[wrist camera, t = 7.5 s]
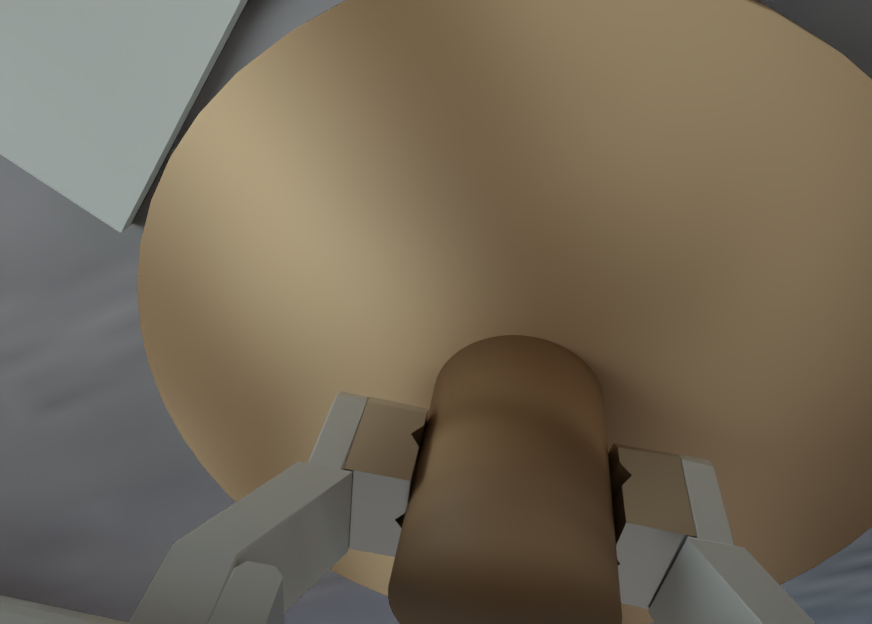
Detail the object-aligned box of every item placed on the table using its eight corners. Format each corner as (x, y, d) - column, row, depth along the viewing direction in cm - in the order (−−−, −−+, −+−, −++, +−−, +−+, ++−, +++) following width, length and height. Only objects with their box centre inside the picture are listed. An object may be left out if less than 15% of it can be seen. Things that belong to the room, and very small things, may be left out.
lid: (357, 613, 18) (299, 831, 14) (10, 150, 12) (-285, 308, 8) (952, 552, 14) (1121, 849, 10) (940, -271, 7) (1476, -456, 3)
